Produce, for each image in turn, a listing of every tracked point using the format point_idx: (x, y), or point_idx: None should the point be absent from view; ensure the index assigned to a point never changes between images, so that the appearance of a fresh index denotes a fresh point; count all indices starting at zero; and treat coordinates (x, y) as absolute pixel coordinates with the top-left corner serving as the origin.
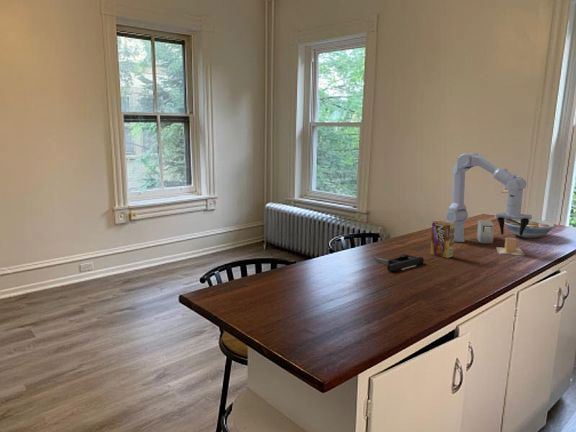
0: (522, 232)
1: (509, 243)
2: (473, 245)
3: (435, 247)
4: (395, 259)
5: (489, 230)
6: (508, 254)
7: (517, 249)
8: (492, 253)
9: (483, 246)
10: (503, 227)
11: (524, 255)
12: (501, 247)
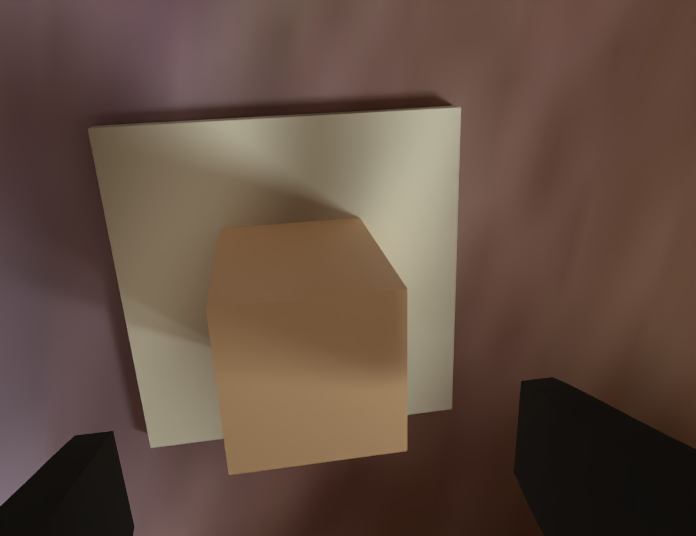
0: (34, 480)
1: (340, 267)
2: (676, 436)
3: None
4: None
5: None
6: (334, 112)
7: (185, 387)
8: (545, 121)
9: None
10: (669, 480)
11: (94, 126)
12: None
